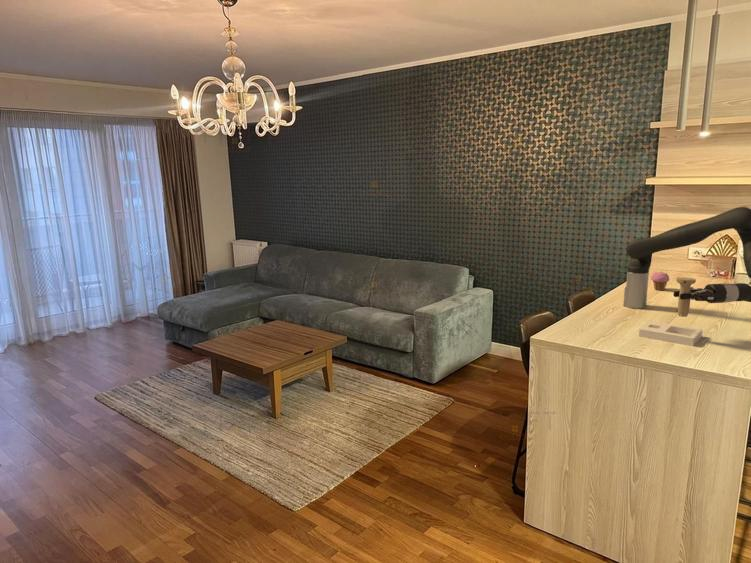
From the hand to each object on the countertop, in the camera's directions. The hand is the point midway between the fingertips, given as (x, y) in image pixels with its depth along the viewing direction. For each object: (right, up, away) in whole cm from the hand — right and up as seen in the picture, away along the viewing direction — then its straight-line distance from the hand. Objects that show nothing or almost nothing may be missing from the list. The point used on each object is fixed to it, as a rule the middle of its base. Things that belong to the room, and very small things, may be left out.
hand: (677, 295), depth 195 cm
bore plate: (+1, -17, +6) cm, 18 cm away
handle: (+3, -8, +2) cm, 9 cm away
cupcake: (+38, +1, +80) cm, 88 cm away
